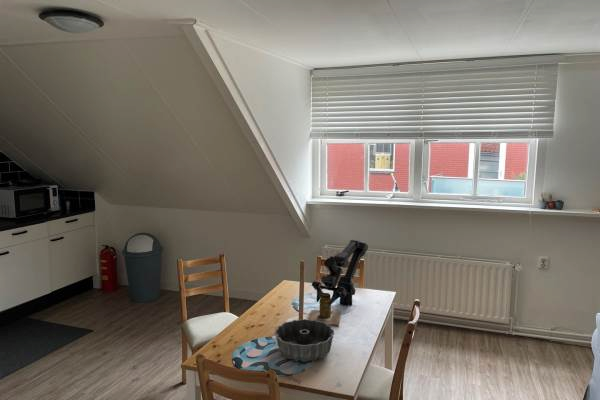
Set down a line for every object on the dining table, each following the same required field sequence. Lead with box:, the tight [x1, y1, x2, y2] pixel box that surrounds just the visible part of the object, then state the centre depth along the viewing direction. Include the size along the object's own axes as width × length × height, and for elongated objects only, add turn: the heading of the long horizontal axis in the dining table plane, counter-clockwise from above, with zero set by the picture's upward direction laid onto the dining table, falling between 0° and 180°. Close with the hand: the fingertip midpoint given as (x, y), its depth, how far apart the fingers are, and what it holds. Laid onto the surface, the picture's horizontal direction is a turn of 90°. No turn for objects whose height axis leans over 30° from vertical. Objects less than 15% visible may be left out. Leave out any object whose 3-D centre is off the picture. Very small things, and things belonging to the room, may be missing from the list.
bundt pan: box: [274, 318, 335, 362], centre depth 196 cm, size 26×26×10 cm
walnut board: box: [307, 309, 342, 328], centre depth 231 cm, size 16×16×1 cm
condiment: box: [316, 292, 333, 321], centre depth 230 cm, size 7×8×12 cm
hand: (323, 303), depth 228 cm, fingers open, 7 cm apart
